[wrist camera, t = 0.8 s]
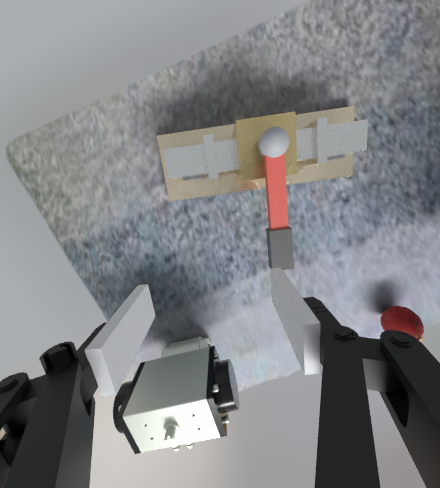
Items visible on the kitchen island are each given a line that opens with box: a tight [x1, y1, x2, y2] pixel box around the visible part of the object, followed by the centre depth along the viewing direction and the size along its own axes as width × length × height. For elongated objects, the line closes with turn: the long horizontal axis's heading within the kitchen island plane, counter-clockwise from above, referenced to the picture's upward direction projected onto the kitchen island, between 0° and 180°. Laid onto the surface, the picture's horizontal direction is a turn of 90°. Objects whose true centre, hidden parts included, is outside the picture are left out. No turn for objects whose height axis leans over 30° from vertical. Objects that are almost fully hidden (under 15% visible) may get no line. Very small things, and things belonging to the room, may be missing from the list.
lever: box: [258, 126, 294, 270], centre depth 25 cm, size 16×3×2 cm, turn 8°
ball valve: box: [113, 336, 239, 454], centre depth 37 cm, size 18×8×18 cm, turn 105°
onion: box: [381, 306, 424, 342], centre depth 39 cm, size 6×6×8 cm
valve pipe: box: [157, 106, 368, 201], centre depth 30 cm, size 30×10×11 cm, turn 98°
